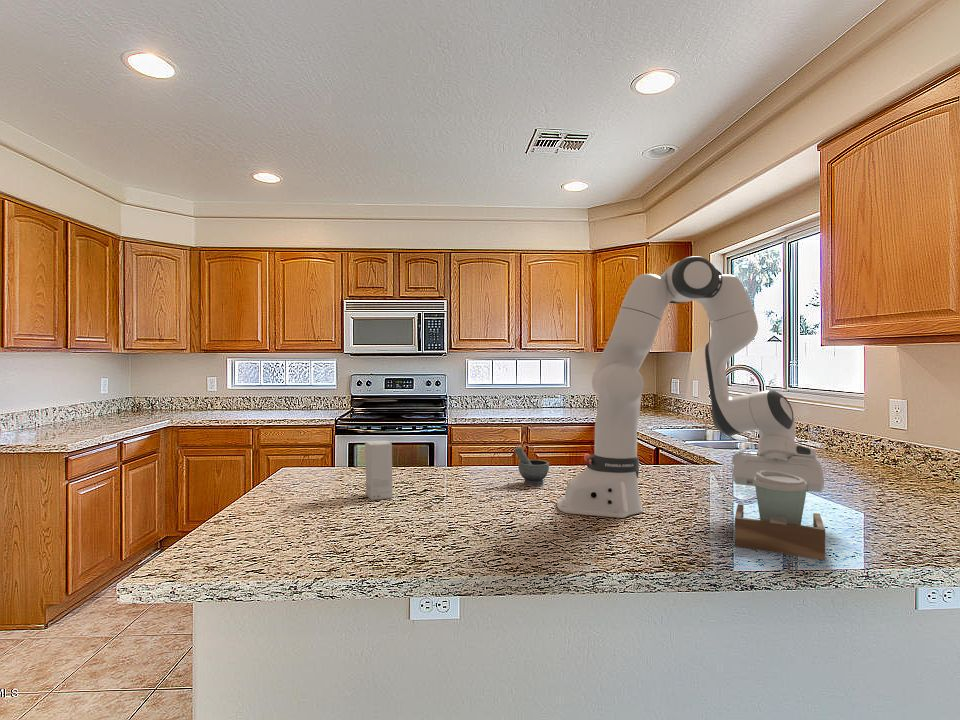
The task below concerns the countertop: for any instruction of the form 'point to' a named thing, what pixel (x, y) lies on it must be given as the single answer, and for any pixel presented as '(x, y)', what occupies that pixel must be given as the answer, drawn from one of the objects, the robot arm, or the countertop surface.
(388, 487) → the skincare box
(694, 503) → the countertop surface
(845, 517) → the countertop surface
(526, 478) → the mortar and pestle
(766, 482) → the disposable coffee cup
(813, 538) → the dock cradle
